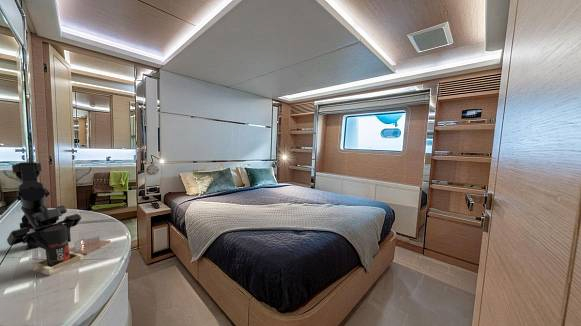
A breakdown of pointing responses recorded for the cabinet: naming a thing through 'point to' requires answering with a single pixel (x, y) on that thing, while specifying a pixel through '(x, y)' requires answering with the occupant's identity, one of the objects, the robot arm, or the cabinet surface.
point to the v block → (88, 245)
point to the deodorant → (56, 245)
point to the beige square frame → (47, 270)
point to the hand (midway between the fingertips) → (59, 245)
